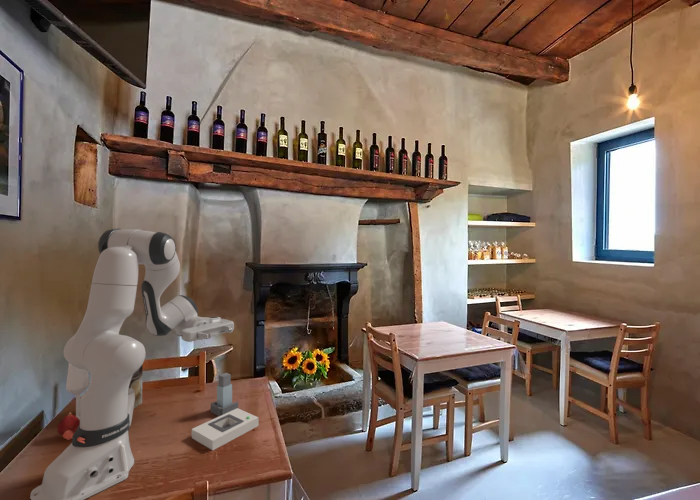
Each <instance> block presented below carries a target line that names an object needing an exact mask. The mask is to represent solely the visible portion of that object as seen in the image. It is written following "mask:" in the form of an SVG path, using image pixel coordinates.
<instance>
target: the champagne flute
mask: <svg viewBox="0 0 700 500" xmlns="http://www.w3.org/2000/svg"><path fill="white" fill-rule="evenodd" d="M89 373H90V372H89V371H86V370H82V369H78V368H76V367H74V366H73V365H71V364H70V363H69V362H68V368H67V375H66V383H65V384H66V385H65V388H66V391H67V392H69V393H70V394H72V395H74V396H75V416H76V417H78V418H79V420H80V398H81V394H84V393H85V392H86V391H87V390H88V388H89V384H90V376H89V375H90V374H89Z"/></svg>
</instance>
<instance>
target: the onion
mask: <svg viewBox="0 0 700 500" xmlns="http://www.w3.org/2000/svg"><path fill="white" fill-rule="evenodd" d="M79 425H80V420H79V418H78V417H76V415H74V414H72V412H68V414H66V415H65V416H64V417H63V418H62V419H61V420H60V421H59V423H58V425H57V433H58V434H59V435H61V437H63V434H64V433H65V432H66V431H67V430H71V431H72V432H74V433H75V432H76V430H77V428H78V426H79Z"/></svg>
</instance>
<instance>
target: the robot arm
mask: <svg viewBox="0 0 700 500" xmlns="http://www.w3.org/2000/svg"><path fill="white" fill-rule="evenodd" d="M97 243H98V244H97V250H98V253H99V257H98V259H97V262H96V265H95V267H94V271H93V276H92V280H91V283H90V284H91V285H90V290H89V297H88V301H87V308H86V310H85V313H84V316H83V318H82V321H81V323H80V325H79V326H78V329H77V331H76V332H75V334H74V335H73V336H72V337H70V338H69V339H68V340H67V341H66V343H65V345H64V347H63V357H64V359H65V360H66V361H67V362H68V364H69V363H70V364H71V365H73V366H74V367H76V368H78V369H82V370H86V371H88V372H89V373H90V380H89V382H90V384H89V386H88V387H87V389H86V390H85V391H84V392H83V393H82V395H80V425H79V426H78V428H77V430H76V432H75V433H74V432H72V431H71V430H67V431H66V432H65V433H64V434H63V436H62V438H64V439H66V440H67V441H70V440H71V443H70V444H69V445H68V446H67V447H66V448H65V449H64V450H63V451H62V452H61V453H60V454H59V455H58V456H57V457H56V458H55V459H53V461H51V463H49V465H48V466H47V468H46V469H45V471H44V474H43V477H42V482H41V484H40V485H38V486H36V487H35V488H33V489H32V490H31V492H30V497H29V500H30V499H31V500H86V499H87V498H91V497H92V496H94V495H96V494H98V493H100V492H103V491H105V490H106V489H109V488H110V487H112V486H114V485H117V484H118V483H121V482H123V481H125V480H127V478H128V477H129V473H130V470H131V468H132V467H133V466H134V464H135V458H134V455H133V453H132V450H131V444H130V439H129V432H130V427H131V425H130V421H129V414H128V389H129V384H130V381H131V378H132V376H133V374H134V373H135V372H136V371H137V370H138V369H139V368H140V367H141V365H142V364H143V363H145V359H146V354H147V353H146V348H145V346H144V344H143V343H142V342H141V341H139V340H137V339H135V338H134V337H131V336H129V335H125V334H120V331H121V327H122V326H123V324H124V322H125V321H126V319H127V318H128V317H130V316H131V315H132V314H133V312H134V309H135V302H136V298H137V289H138V283H139V265H144V268H145V274H144V278H143V280H142V283H141V285H140V289H141V297H142V300H143V301H142V302H143V307H144V313H145V326H146V328H147V330H148V331H149V332H150V334H152V335H153V336H157V337H163V336H167V335H169V334H170V332H171V331H172V330H174V331H175V332H176V333H177V334H176V336H177V337H180V338H181V340H183V341H184V342H186V343H187V342H188V343H191V342H194V341H203V340H209V339H211V338H212V337H214V336H218V335H222V334H226V333H227V334H231V333H233V331H234V330H235V323H234V321H232V320H229V319H225V318H222V317H221V316H220V317H219V316H212V317H209V316H208V317H205V316H203V317H202V316H198V315H199V309H198V306H197V303H196V302H195V301H194V300H193V299H192V298H190V297H189V296H187V295H184V294H183V295H182V294H178V295H176V296H175V297H174V298H172V299H170V300H169V301H168V302H167V303H165V304H163V305H162V306H161V302H160V301H161V300H160V299H161V296H162V294H163V293H164V292H165V291H166V290H167V288H168V287H169V286H170V285H172V283H173V282H174V281H175V280H176V279H177V278H178V276H179V274H180V272H181V263H180V260H179V256H178V253H177V251H176V250H177V247H176V241H175V239H174V238H173V237H172V236H171V235H170V234H168V233H166V232H161V231H153V230H144V229H143V230H142V229H140V228H139V229H138V228H124V229H122V228H111V229H107V230H105V231H104V232H103V233H102V234H101V236H100V237H99V239H98V242H97ZM35 495H36V496H35Z"/></svg>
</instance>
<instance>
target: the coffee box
mask: <svg viewBox="0 0 700 500" xmlns="http://www.w3.org/2000/svg"><path fill="white" fill-rule="evenodd" d="M143 367H144V366H143V364H142V365H141V367H140V368H139V369H138V370H137V371H136V372H135V373H134V374H133V376H132V378H131V381H130V384H129V388H131V389H134V393H135V402H134V408H133V410H134V409H135V408H137V407H138V405H139V406H140V405H142V404H143Z"/></svg>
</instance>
